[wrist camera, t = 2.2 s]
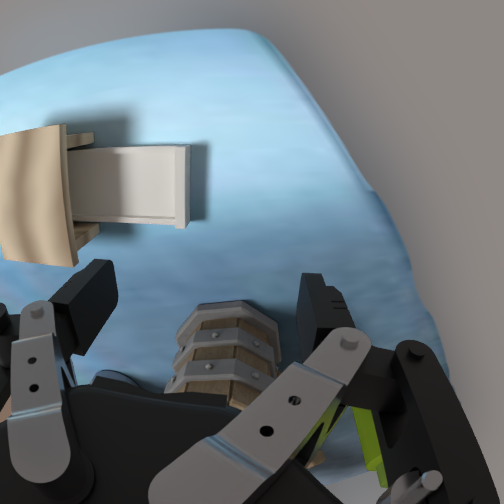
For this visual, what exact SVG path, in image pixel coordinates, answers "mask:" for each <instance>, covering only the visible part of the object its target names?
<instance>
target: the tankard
mask: <svg viewBox="0 0 504 504" xmlns="http://www.w3.org/2000/svg"><path fill="white" fill-rule="evenodd" d="M175 339H176V341H177V344H178V347H179V351H178V352H177V353H176V355H175V359H174V362H173V365H172V367H173V369H174V372H175V375H174V376H173V377H172V378H171V380H170V381H169V382H168V383H167V384H166V387H165V391H164V393H179V392H201V393H211V394H223V395H227V405H229V406H232V407H235V408H238V409H240V410H242V411H243V410H244V409H245V408H246V407H248V406H249V405H250V404H251V403H252V402H253V401H254V400H255V399H256V398H257V397H258V396H259V395H260V394H261V393H262V392H263V391H264V390H265V389H266V388H267V387H268V386H269V385H271V384H272V383H273V382H274V381H275V380H276V379H277V378H278V377H279V376H280V375H281V374H282V372H279V371H278V369H279V368H278V367H277V366H276V365H277V364H278V363H280V362H281V361H282V359H281V349H280V341H279V333H278V324H277V322H275V321H274V320H272V319H271V318H269V317H267V316H266V315H264V314H262V313H261V312H259V311H258V310H256V309H255V308H253V307H251V306H250V305H248V304H247V303H245V302H243V301H233V302H223V303H213V304H202V305H198V306H197V307H196V308H195V310H194V311H193V312H192V313H191V315H190V316H189V317H188V318H187V320H186V321H185V322H184V323H183V325H182V326H181V327H180V328H179V330H178V331H177V334H176V336H175ZM324 461H326V457H325V456H324V454H323V452H322V451H321V450H319V451H318V452H317V454H316V456H315V457H314V459H313V460H312V462H311V463H310V464H309V466H308V467H307V469H309V468H311V467H314V466H316V465H318V464H320V463H322V462H324Z"/></svg>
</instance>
